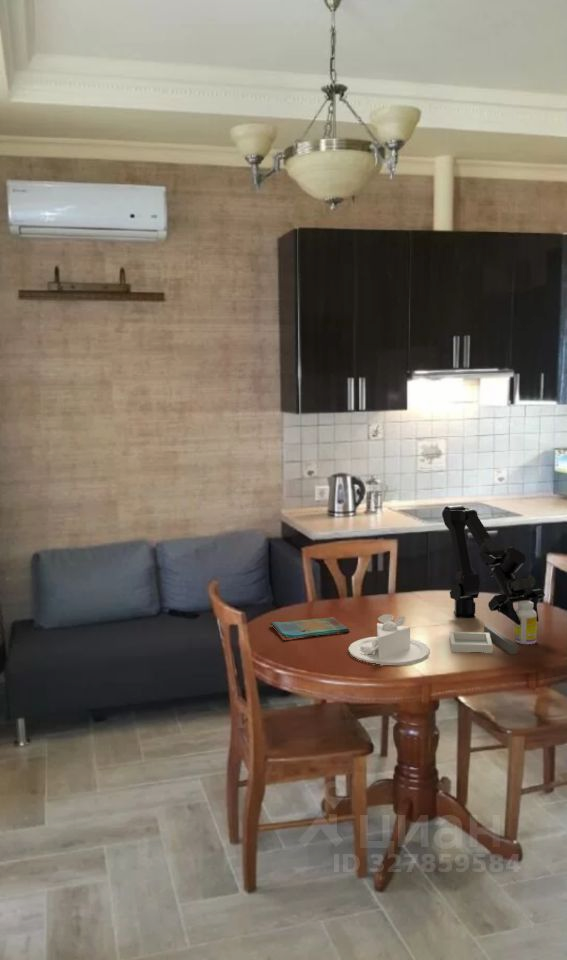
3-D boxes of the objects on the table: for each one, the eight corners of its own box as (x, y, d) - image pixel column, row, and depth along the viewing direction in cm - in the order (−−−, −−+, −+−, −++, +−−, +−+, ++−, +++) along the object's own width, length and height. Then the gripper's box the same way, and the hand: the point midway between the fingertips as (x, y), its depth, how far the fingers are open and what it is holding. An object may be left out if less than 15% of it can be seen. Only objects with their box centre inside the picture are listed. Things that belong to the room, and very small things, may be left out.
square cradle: (451, 651, 245) (451, 644, 245) (449, 639, 258) (449, 631, 257) (492, 653, 243) (492, 645, 243) (489, 640, 256) (489, 632, 255)
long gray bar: (516, 654, 242) (516, 644, 242) (510, 654, 242) (510, 645, 241) (489, 634, 262) (489, 625, 261) (483, 634, 261) (484, 625, 261)
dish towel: (269, 628, 276) (269, 621, 276) (332, 620, 283) (332, 613, 283) (283, 642, 260) (283, 635, 259) (350, 634, 267) (350, 627, 266)
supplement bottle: (538, 640, 254) (539, 601, 253) (533, 646, 249) (533, 606, 247) (517, 637, 258) (518, 598, 256) (511, 643, 252) (512, 603, 251)
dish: (364, 636, 264) (364, 603, 262) (438, 645, 253) (438, 611, 251) (336, 660, 242) (335, 624, 240) (416, 671, 231) (416, 633, 229)
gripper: (494, 570, 250) (516, 613, 242) (541, 564, 257) (565, 606, 249) (478, 589, 259) (499, 631, 250) (525, 582, 266) (547, 623, 257)
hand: (528, 622), depth 251 cm, fingers closed on supplement bottle, 7 cm apart
